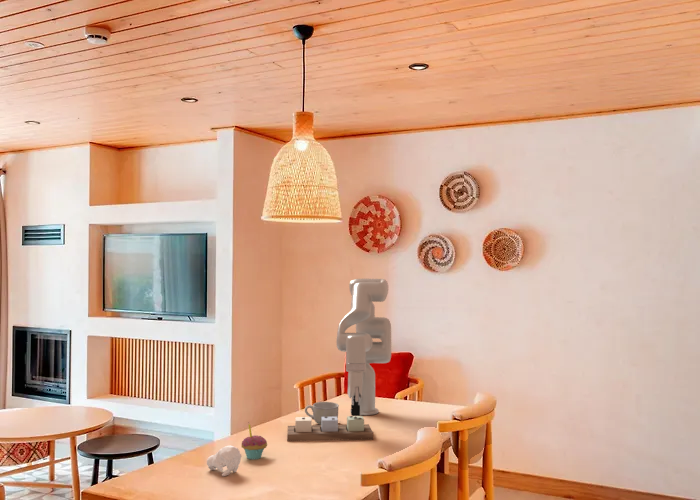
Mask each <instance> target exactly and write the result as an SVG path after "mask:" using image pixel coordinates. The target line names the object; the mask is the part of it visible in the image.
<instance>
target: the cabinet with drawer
mask: <svg viewBox="0 0 700 500" xmlns="http://www.w3.org/2000/svg"><path fill="white" fill-rule="evenodd" d="M286 432H287V433H286V434H287V435H286V439H287V442H309V441H310V442H313V441H314V442H316V441H320V442H322V441H323V442H324V441H326V442H327V441H368V440H370V441H373V440H374V432H373V430H372V427H371V426H370V424H369V423H368V424H365V423H364V431H348V429H347V424H338V431H336V432H322V429H321V425H319V424H317V425H316V424H315V425H314V424H313V425H311V432H295V425H287V431H286Z"/></svg>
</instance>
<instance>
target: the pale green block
mask: <svg viewBox="0 0 700 500" xmlns="http://www.w3.org/2000/svg"><path fill="white" fill-rule="evenodd" d="M364 424H365V419H364V415H360V416H352V415H349V416H348V415H347V416H346V425H347V429H348V431H364Z"/></svg>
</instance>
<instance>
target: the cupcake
mask: <svg viewBox="0 0 700 500" xmlns="http://www.w3.org/2000/svg"><path fill="white" fill-rule="evenodd" d="M251 426H252V425H251V424H250V421H248V432H249V436H246V437H245V438H243V440H242V441H241V448H242V449H243V450H244V453H245V456H246V458H247V459H248V460H259V459H261V458H262V455H263V452H264V449H266V448H267V446H268V441H267V440H266V438H264V437H263V436H261V435H252V427H251Z"/></svg>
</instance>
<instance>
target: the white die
mask: <svg viewBox="0 0 700 500" xmlns="http://www.w3.org/2000/svg"><path fill="white" fill-rule="evenodd" d="M338 425H339V419H337V417H321V429H322V432H336V431H338Z"/></svg>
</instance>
